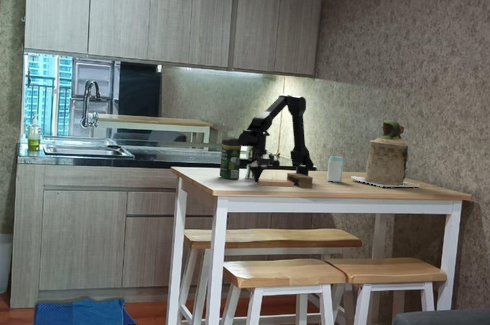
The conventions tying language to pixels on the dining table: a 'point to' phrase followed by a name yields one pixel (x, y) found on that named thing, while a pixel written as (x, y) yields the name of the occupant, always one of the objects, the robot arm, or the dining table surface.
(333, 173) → the white teal canister
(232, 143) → the coffee jar
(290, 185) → the tile
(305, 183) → the brown rectangular block
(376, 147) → the cookie jar
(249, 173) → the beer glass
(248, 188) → the dining table surface
